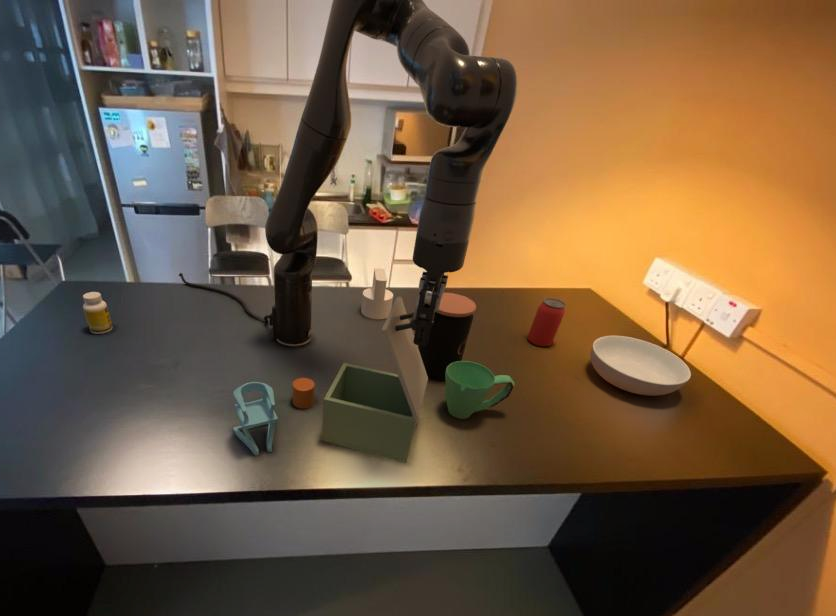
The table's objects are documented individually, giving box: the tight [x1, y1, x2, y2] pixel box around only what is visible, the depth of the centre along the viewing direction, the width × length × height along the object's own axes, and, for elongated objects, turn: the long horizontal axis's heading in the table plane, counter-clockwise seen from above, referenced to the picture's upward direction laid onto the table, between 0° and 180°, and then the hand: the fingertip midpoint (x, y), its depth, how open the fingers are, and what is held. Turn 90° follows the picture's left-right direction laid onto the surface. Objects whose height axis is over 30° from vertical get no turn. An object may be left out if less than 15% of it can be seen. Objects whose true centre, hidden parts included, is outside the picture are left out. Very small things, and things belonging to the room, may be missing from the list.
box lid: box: [381, 296, 429, 420], centre depth 73 cm, size 18×13×5 cm
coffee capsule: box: [292, 377, 315, 410], centre depth 91 cm, size 5×5×5 cm
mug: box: [444, 360, 515, 420], centre depth 90 cm, size 15×10×10 cm
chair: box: [233, 381, 279, 457], centre depth 78 cm, size 8×8×12 cm
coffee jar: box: [417, 292, 477, 381], centre depth 100 cm, size 11×11×18 cm
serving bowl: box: [590, 335, 692, 397], centre depth 104 cm, size 21×21×7 cm
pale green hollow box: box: [321, 362, 418, 463], centre depth 83 cm, size 17×13×10 cm
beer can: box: [527, 297, 566, 348], centre depth 116 cm, size 7×7×12 cm
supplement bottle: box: [82, 291, 114, 335], centre depth 109 cm, size 5×5×10 cm
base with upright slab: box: [360, 267, 394, 320], centre depth 125 cm, size 9×9×12 cm
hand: (423, 334), depth 71 cm, fingers open, 6 cm apart
